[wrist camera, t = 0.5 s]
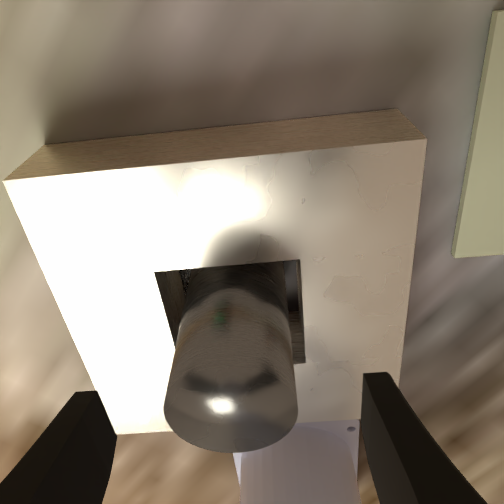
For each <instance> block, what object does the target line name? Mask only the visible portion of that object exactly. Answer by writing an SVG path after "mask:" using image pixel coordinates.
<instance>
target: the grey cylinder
mask: <svg viewBox="0 0 504 504" xmlns="http://www.w3.org/2000/svg"><path fill="white" fill-rule="evenodd" d="M163 410H164V416H165V419H166V421H167V423H168V425H169V426H170V428H171V429H172V430H173V431H174V432H175V433H176V434H177V435H178V436H179V437H180V438H182V439H183V440H185V441H187V442H189V443H191V444H192V445H195V446H197V447H200V448H203V449H207V450H211V451H216V452H225V453H241V452H249V451H255V450H258V449H262V448H265V447H268V446H270V445H272V444H274V443H276V442H278V441H279V440H281V439H282V438H283V437H285V436H286V435H287V434H288V433H289V432H290V431H291V429H292V428H293V427H294V425H295V423H296V420H297V417H298V403H297V393H296V383H295V373H294V363H293V354H292V344H291V334H290V324H289V314H288V304H287V294H286V284H285V275H284V266H283V261H274V262H262V263H250V264H238V265H227V266H215V267H203V268H191V273H190V278H189V282H188V287H187V292H186V297H185V302H184V307H183V312H182V317H181V322H180V327H179V332H178V337H177V341H176V346H175V351H174V356H173V361H172V366H171V371H170V376H169V381H168V386H167V391H166V396H165V400H164V406H163Z"/></svg>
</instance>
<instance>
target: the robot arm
mask: <svg viewBox="0 0 504 504" xmlns="http://www.w3.org/2000/svg"><path fill="white" fill-rule="evenodd" d="M359 425H360V422H359V419H354V420H338V421H322V422H306V423H295V425H294V427H293V428H292V429H291V431H290V432H289V433H288V434H287V435H286V436H285V437H283V438H282V439H281V440H279V441H278V442H276V443H274V444H272V445H270V446H268V447H265V448H262V449H258V450H255V451H249V452H241V453H233V456H234V461H235V466H236V470H237V475H238V479H239V484H240V504H361V499H360V494H359V489H358V484H357V467H358V446H359ZM361 428H362V433H363V439H364V444H365V449H366V454H367V459H368V464H369V467H370V471H371V474H372V477H373V481H374V484H375V488H376V491H377V495H378V498H379V501H380V504H487V502H486V501H485V500H484V499H483V498H482V497H481V496H480V495H479V494H478V492H477V491H476V490H475V489H474V488H473V487H472V486H471V484H470V483H469V482H468V481H467V480H466V479H465V477H464V476H463V475H462V474H461V473H460V471H459V470H458V469H457V468H456V467H455V465H454V464H453V463H452V462H451V460H450V459H449V458H448V457H447V455H446V454H445V453H444V452H443V450H442V449H441V448H440V446H439V445H438V444H437V442H436V441H435V440H434V439H433V437H432V436H431V435H430V433H429V432H428V431H427V429H426V428H425V427H424V425H423V424H422V422H421V421H420V420H419V418H418V417H417V415H416V414H415V412H414V411H413V410H412V408H411V407H410V405H409V404H408V402H407V401H406V399H405V398H404V396H403V395H402V393H401V391H400V390H399V388H398V387H397V385H396V383H395V382H394V380H393V378H392V377H391V375H390V374H389V373H388V372H374V373H363V385H362V404H361ZM116 441H117V435H116V433H115V431H114V428H113V426H112V424H111V421H110V419H109V417H108V414H107V412H106V410H105V407H104V405H103V403H102V400H101V398H100V396H99V393H98V391H83V392H75V393H74V395H73V396H72V397H71V398H70V399H69V401H68V402H67V403H66V404H65V406H64V407H63V408H62V409H61V411H60V412H59V413H58V414H57V416H56V417H55V418H54V419H53V421H52V422H51V423H50V424H49V426H48V427H47V428H46V429H45V431H44V432H43V433H42V434H41V436H40V437H39V438H38V439H37V441H36V442H35V443H34V444H33V446H32V447H31V448H30V449H29V450H28V452H27V453H26V454H25V455H24V456H23V458H22V459H21V460H20V461H19V462H18V464H17V465H16V466H15V467H14V468H13V470H12V471H11V472H10V473H9V474H8V475H7V476H6V478H5V479H4V480H3V481H2V482H1V483H0V504H102V501H103V498H104V495H105V491H106V488H107V485H108V481H109V478H110V474H111V469H112V464H113V458H114V453H115V447H116Z"/></svg>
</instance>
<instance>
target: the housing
mask: <svg viewBox="0 0 504 504" xmlns="http://www.w3.org/2000/svg"><path fill="white" fill-rule="evenodd" d="M426 146H427V138H426V137H425V136H424V135H423V134H422V133H421V132H420V131H419V130H418V129H417V128H416V127H415V126H414V125H413V124H412V123H411V122H410V121H409V120H408V119H407V118H406V117H405V116H404V115H403V114H402V113H401V112H400V111H399V110H398V109H388V110H378V111H368V112H359V113H349V114H339V115H330V116H320V117H310V118H301V119H291V120H281V121H272V122H262V123H252V124H243V125H233V126H223V127H213V128H204V129H194V130H184V131H175V132H165V133H155V134H146V135H136V136H126V137H117V138H107V139H97V140H87V141H78V142H68V143H58V144H49V145H43V146H42V147H41V148H40V149H39V150H38V151H36V152H35V153H34V154H33V155H32V156H31V157H29V158H28V159H27V160H26V161H25V162H24V163H23V164H21V165H20V166H19V167H18V168H17V169H16V170H14V171H13V172H12V173H11V174H10V175H9V176H7V177H6V178H5V179H4V180H3V183H4V185H5V188H6V190H7V192H8V194H9V197H10V199H11V201H12V203H13V206H14V208H15V210H16V212H17V214H18V217H19V219H20V221H21V223H22V226H23V228H24V230H25V232H26V235H27V237H28V239H29V241H30V244H31V246H32V248H33V250H34V252H35V255H36V257H37V259H38V261H39V264H40V266H41V268H42V270H43V273H44V275H45V277H46V279H47V282H48V284H49V286H50V288H51V290H52V293H53V295H54V297H55V299H56V302H57V304H58V306H59V308H60V311H61V313H62V315H63V317H64V320H65V322H66V324H67V326H68V328H69V331H70V333H71V335H72V337H73V340H74V342H75V344H76V346H77V349H78V351H79V353H80V355H81V358H82V360H83V362H84V364H85V367H86V369H87V371H88V373H89V375H90V378H91V380H92V382H93V384H94V387H95V389H96V391H98V393H99V396H100V398H101V400H102V403H103V405H104V407H105V410H106V412H107V414H108V417H109V419H110V421H111V424H112V426H113V428H114V431H115V433H116V434H131V433H147V432H162V431H173V430H172V429H171V428H170V426H169V425H168V423H167V421H166V419H165V416H164V410H163V406H164V400H165V396H166V391H167V386H168V381H169V376H170V371H171V366H172V361H173V356H174V351H175V346H176V341H177V337H178V332H179V327H180V322H181V317H182V312H183V307H184V302H185V294H184V289H183V285H182V281H181V277H180V273H179V269H191V268H203V267H215V266H227V265H238V264H250V263H262V262H274V261H286V260H296V268H297V285H298V302H299V311H296V312H288V314H289V324H290V334H291V344H292V354H293V363H294V373H295V383H296V393H297V403H298V417H297V420H296V423H306V422H322V421H338V420H354V419H361V404H362V385H363V373H374V372H388V373H389V374H390V375H391V377H392V378H393V380H394V382H395V383H396V385H397V387H399V379H400V370H401V361H402V353H403V344H404V336H405V327H406V318H407V310H408V301H409V292H410V284H411V275H412V267H413V258H414V249H415V241H416V232H417V224H418V215H419V206H420V198H421V189H422V180H423V172H424V163H425V155H426Z"/></svg>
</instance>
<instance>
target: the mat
mask: <svg viewBox="0 0 504 504" xmlns="http://www.w3.org/2000/svg"><path fill="white" fill-rule="evenodd" d="M451 254H452V256H453V257H454V258H465V257H477V256H489V255H501V254H504V10H496V11H492V17H491V23H490V29H489V35H488V41H487V46H486V52H485V58H484V64H483V70H482V76H481V81H480V87H479V93H478V99H477V105H476V111H475V117H474V122H473V128H472V134H471V140H470V146H469V152H468V157H467V163H466V169H465V175H464V181H463V187H462V193H461V198H460V204H459V210H458V216H457V222H456V228H455V233H454V239H453V245H452V251H451Z"/></svg>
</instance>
